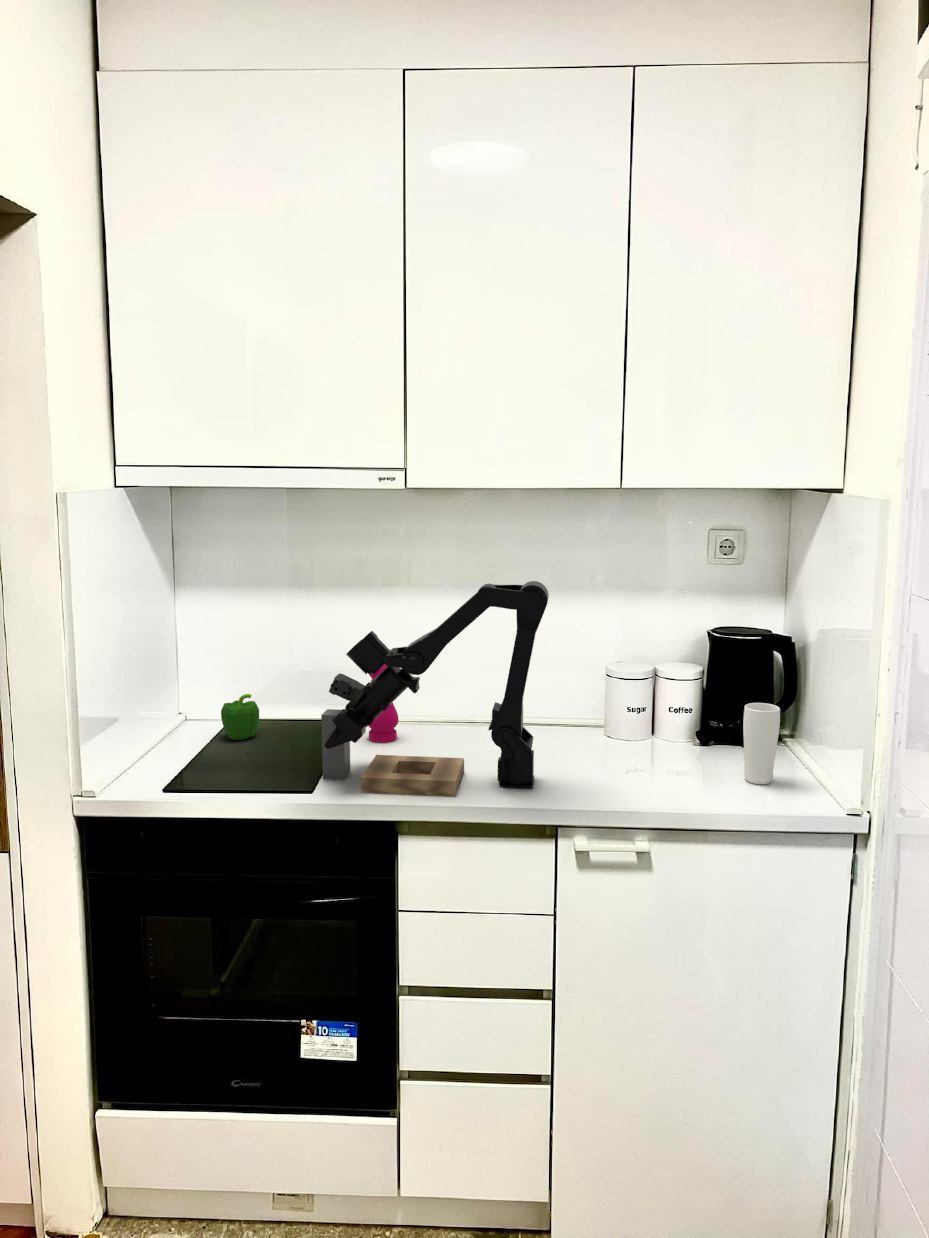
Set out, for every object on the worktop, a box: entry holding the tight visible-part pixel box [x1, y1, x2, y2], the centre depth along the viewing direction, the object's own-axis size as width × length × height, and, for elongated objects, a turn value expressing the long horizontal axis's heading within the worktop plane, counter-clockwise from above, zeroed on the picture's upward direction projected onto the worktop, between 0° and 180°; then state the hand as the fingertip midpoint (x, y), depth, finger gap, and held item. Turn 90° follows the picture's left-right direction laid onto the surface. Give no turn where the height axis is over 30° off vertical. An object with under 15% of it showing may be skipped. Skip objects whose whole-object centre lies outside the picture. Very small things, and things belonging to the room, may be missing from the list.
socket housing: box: [360, 754, 465, 797], centre depth 189 cm, size 18×14×3 cm
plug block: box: [320, 708, 351, 781], centre depth 192 cm, size 4×4×13 cm
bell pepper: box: [220, 693, 260, 741], centre depth 218 cm, size 8×8×10 cm
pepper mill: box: [367, 664, 399, 744], centre depth 216 cm, size 7×7×20 cm
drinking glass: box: [742, 702, 781, 785], centre depth 189 cm, size 7×7×15 cm
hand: (329, 743), depth 192 cm, fingers closed on plug block, 4 cm apart
